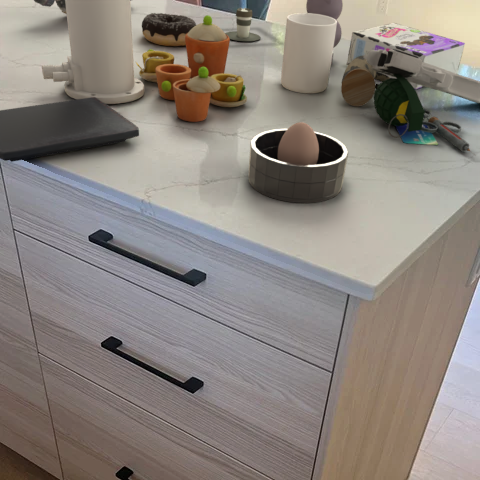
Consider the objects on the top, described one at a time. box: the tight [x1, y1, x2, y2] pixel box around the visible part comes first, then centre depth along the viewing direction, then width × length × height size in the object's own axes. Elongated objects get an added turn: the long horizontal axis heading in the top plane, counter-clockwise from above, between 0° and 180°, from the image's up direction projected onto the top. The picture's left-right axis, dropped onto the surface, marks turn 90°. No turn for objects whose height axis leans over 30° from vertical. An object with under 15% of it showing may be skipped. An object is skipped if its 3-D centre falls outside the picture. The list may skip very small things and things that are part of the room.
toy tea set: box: [135, 14, 248, 123], centre depth 100 cm, size 26×16×10 cm, turn 20°
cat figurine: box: [305, 0, 344, 64], centre depth 118 cm, size 8×8×12 cm
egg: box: [278, 121, 319, 165], centre depth 79 cm, size 5×5×7 cm
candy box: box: [346, 22, 466, 90], centre depth 119 cm, size 14×6×16 cm
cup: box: [280, 12, 338, 94], centre depth 108 cm, size 8×12×10 cm
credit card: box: [395, 123, 439, 146], centre depth 97 cm, size 8×5×1 cm, turn 0°
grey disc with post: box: [224, 7, 262, 43], centre depth 130 cm, size 12×12×5 cm
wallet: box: [0, 97, 140, 163], centre depth 87 cm, size 20×2×15 cm
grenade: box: [373, 74, 426, 139], centre depth 97 cm, size 6×7×12 cm
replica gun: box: [364, 49, 480, 104], centre depth 102 cm, size 29×16×3 cm, turn 97°
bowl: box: [247, 128, 349, 204], centre depth 80 cm, size 12×12×4 cm
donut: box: [141, 12, 197, 47], centre depth 125 cm, size 11×12×4 cm
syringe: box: [421, 108, 476, 156], centre depth 97 cm, size 8×18×2 cm, turn 18°
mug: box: [340, 56, 390, 107], centre depth 107 cm, size 8×6×12 cm
